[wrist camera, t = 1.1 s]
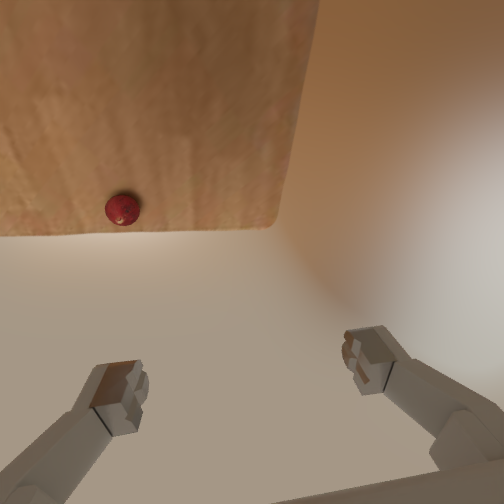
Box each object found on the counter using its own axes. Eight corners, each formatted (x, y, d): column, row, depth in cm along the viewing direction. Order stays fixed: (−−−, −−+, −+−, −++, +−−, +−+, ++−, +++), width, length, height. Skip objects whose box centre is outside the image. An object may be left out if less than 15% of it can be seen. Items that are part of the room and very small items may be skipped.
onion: (123, 182, 46) (118, 201, 40) (146, 203, 50) (145, 223, 44) (101, 200, 47) (93, 220, 41) (126, 219, 51) (121, 240, 45)
